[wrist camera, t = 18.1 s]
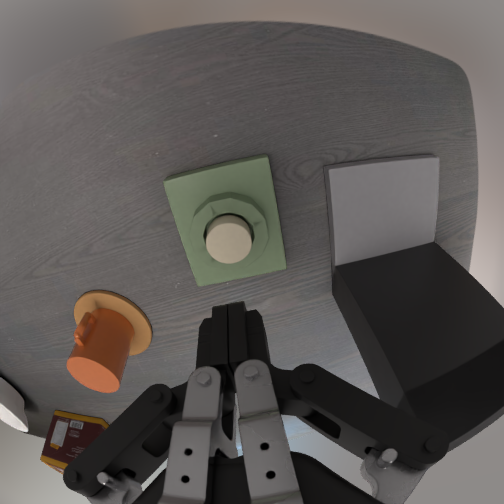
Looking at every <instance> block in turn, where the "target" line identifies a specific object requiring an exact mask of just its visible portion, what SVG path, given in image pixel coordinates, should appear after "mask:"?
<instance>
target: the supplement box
mask: <svg viewBox="0 0 504 504" xmlns="http://www.w3.org/2000/svg"><path fill="white" fill-rule="evenodd" d="M108 427H109V425H108V424H107V423H106V422H105V421H104V420H103V419H101V418H95V417H88V416H83V415H77V414H72V413H67V412H63V411H58V410H55V413H54V416H53V418H52V422H51V425H50V428H49V431H48V434H47V437H46V441H45V444H44V448H43V451H42V455H41V459H40V460H41V461H42V462H44V463H45V464H47V465H48V466H50V467H51V468H53V469H55V470H56V471H58V472H60V473H61V474H63V472H64V469H65V468H66V466H67V465H68V464H69V463H70V462H72V461H73V460H74V459H75V458H76V457H77V456H78V455H79V454H80V453H81V452H82V451H83V450H84V449H85V448H87V447H88V446H89V445H90V444H91V443H92V442H93V441H94V440H95V439H96V438H97V437H98V436H99V435H100V434H101V433H102V432H103V431H104V430H105V429H106V428H108Z"/></svg>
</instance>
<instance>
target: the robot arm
mask: <svg viewBox="0 0 504 504" xmlns="http://www.w3.org/2000/svg"><path fill="white" fill-rule="evenodd" d="M235 393H237V399H238V406H239V413H240V418H239V419H238V424H239V432H240V438H241V444H242V451H243V455H242V456H239V457H238V452H237V448H236V412H237V407H236V404H235ZM281 414H282V415H292V416H297V418H299V419H300V420H301V421H303V422H304V423H306V424H307V425H309V426H310V427H312V428H313V429H315V430H316V431H318V432H319V433H321V434H322V435H324V436H325V437H327V438H328V439H330V440H332V441H333V442H335V443H337V444H338V445H339V446H341V447H343V448H344V449H346V450H348V451H350V452H351V453H353V454H354V455H356V456H358V457H360V458H361V459H363V460H364V461H363V462H362V464H361V469H360V470H361V475H362V477H363V478H364V479H365V480H366V481H367V482H369V483H370V485H371V487H372V496H371V495H369V494H367V493H366V492H364V491H362V490H361V489H359V488H358V487H356V486H354V485H353V484H351V483H350V482H348V481H347V480H345V479H344V478H342V477H340V476H339V475H338V474H336V473H335V472H333V471H332V470H330V469H329V468H328V467H326V466H325V465H323V464H322V463H321V462H319V461H317V460H316V459H314V458H313V457H310V456H308V455H306V454H302V453H299V452H293V451H290V448H289V444H288V440H287V436H286V433H285V429H284V425H283V421H282V417H281ZM448 449H449V438H448V435H447V434H446V433H445V432H444V431H443V430H442V429H440V428H437V427H435V426H433V425H431V424H429V423H426V422H424V421H422V420H420V419H418V418H416V417H414V416H412V415H410V414H408V413H405V412H403V411H401V410H399V409H397V408H395V407H393V406H391V405H389V404H387V403H385V402H384V401H382V400H380V399H378V398H376V397H374V396H372V395H370V394H368V393H366V392H364V391H363V390H361V389H359V388H357V387H355V386H353V385H352V384H350V383H348V382H346V381H344V380H342V379H341V378H339V377H337V376H335V375H334V374H332V373H330V372H328V371H327V370H325V369H323V368H321V367H320V366H318V365H315V364H303V365H300V366H298V367H296V368H295V369H294V370H282V369H278V368H276V367H274V366H273V365H272V364H271V361H270V355H269V349H268V342H267V336H266V332H265V328H264V324H263V320H262V316H261V315H260V313H259V312H258V311H257V310H250V311H247V310H246V307H245V303H244V301H240V302H235V303H230V304H225V305H219V306H213V308H212V318H206V319H204V320H203V322H202V323H201V325H200V327H199V337H198V348H197V360H196V370H195V371H193V372H192V373H191V375H190V376H189V379H188V381H187V382H186V383H184V384H182V385H179V386H176V387H174V388H171V389H170V388H169V387H168V386H166V385H164V384H155V385H152V386H150V387H149V388H148V389H146V390H145V391H144V392H143V393H142V394H141V395H140V396H139V397H138V398H137V399H136V400H135V401H134V402H133V403H132V404H131V405H130V406H129V407H128V408H127V409H126V410H125V411H124V412H123V413H122V414H121V415H120V416H119V417H118V418H117V419H116V420H115V421H114V422H113V423H112V424H111V425H110V426H109V427H108V428H106V429H105V430H104V431H103V432H102V433H101V434H100V435H99V436H98V437H97V438H96V439H95V440H94V441H93V442H92V443H91V444H90V445H89V446H88V447H87V448H85V449H84V450H83V451H82V452H81V453H80V454H79V455H78V456H77V457H76V458H75V459H74V460H73V461H72V462H70V463H69V464H68V465H67V466H66V468H65V469H64V472H63V480H64V482H65V484H66V486H67V487H68V488H69V489H71V490H73V491H75V492H77V493H80V494H82V495H83V496H85V497H87V499H88V500H89V501H90V502H91V503H92V504H404V502H405V501H406V500H407V498H408V497H409V496H410V494H411V493H412V491H413V490H414V488H415V487H416V486H417V484H418V483H419V481H420V480H421V478H422V476H423V475H424V474H425V472H426V471H427V469H428V468H430V467H431V466H432V465H434V464H435V463H437V462H438V461H439V460H441V459H442V458H443V457H444V456H445V455H446V453H447V451H448ZM167 458H168V461H167V468H165V469H164V470H163V471H162V472H161V473H160V474H159V475H158V476H157V478H155V480H154V481H153V482H152V483H151V484H150V485H149V486H148V487H147V488H146V489H145V490H144V491H142V487H141V485H142V483H144V482H145V481H146V480H147V479H148V478H149V477H150V476H151V475H152V474H153V473H154V472H155V471H156V470H157V469H158V468H159V466H160V465H161V464H162V463H163V462H164V461H165V460H166V459H167Z"/></svg>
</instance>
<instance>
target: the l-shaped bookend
mask: <svg viewBox="0 0 504 504" xmlns="http://www.w3.org/2000/svg"><path fill="white" fill-rule="evenodd" d="M324 175H325V185H326V194H327V205H328V216H329V229H330V245H331V264H332V293H333V296H334V298H335V300H336V303H337V305H338V307H339V309H340V311H341V313H342V315H343V317H344V319H345V321H346V323H347V325H348V328H349V330H350V332H351V334H352V336H353V338H354V340H355V343H356V345H357V347H358V349H359V351H360V354H361V356H362V358H363V360H364V363H365V365H366V367H367V369H368V372H369V374H370V376H371V379H372V381H373V383H374V386H375V388H376V390H377V393H378V395H379V398H380V400H382V401H384V402H385V403H387V404H389V405H391V406H393V407H395V408H397V409H399V410H401V411H403V412H405V413H408V414H410V415H412V416H414V417H416V418H418V419H420V420H422V421H424V422H426V423H429V424H431V425H433V426H435V427H437V428H440V429H442V430H443V431H444V432H445V433H446V434H447V435H448V438H449V449H448V451H447V452H449V451H451V450H453V449H454V448H456V447H458V446H459V445H461V444H462V443H464V442H466V441H467V440H469V439H470V438H472V437H473V436H475V435H476V434H478V433H479V432H481V431H482V430H483V429H485V428H486V427H488V426H489V425H490V424H492V423H493V422H494V421H496V420H497V419H498V418H499V417H501V416H502V415H503V414H504V308H503V307H502V306H501V305H500V304H499V303H498V302H497V301H496V299H495V298H494V297H493V296H492V295H491V294H490V293H489V292H488V291H487V290H486V289H485V288H484V287H483V286H482V285H481V284H480V283H479V282H478V281H477V280H476V279H475V278H474V277H473V276H472V275H471V274H470V273H469V272H468V271H467V270H465V269H464V268H463V267H462V266H461V265H460V264H459V263H458V262H457V261H456V260H455V259H453V258H452V257H451V256H450V255H449V254H448V253H447V252H446V251H444V250H443V249H442V248H441V247H440V246H439V245H437V244H436V243H435V242H434V237H435V229H436V219H437V208H438V193H439V157H437V156H435V155H432V154H428V155H414V156H403V157H392V158H382V159H373V160H365V161H356V162H349V163H341V164H334V165H328V166H324Z"/></svg>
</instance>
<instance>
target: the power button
mask: <svg viewBox="0 0 504 504" xmlns="http://www.w3.org/2000/svg"><path fill="white" fill-rule="evenodd" d="M251 246H252V239H251V233H250V229H249V226H248V225H247V223H246V222H245V221H244V220H243V219H241V218H240V217H237V216H234V215H224V216H220V217H218V218H217V219H215V220H214V221H213V222H212V223H211V224H210V226H209V228H208V232H207V238H206V248H207V251H208V252H209V254H210V255H211V256H212V257H213V258H214V259H215V260H217V261H219V262H221V263H227V264H231V263H236V262H239V261H241V260H243V259H244V258H245V257H246V256H247V255H248V254H249V252H250V250H251Z"/></svg>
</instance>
